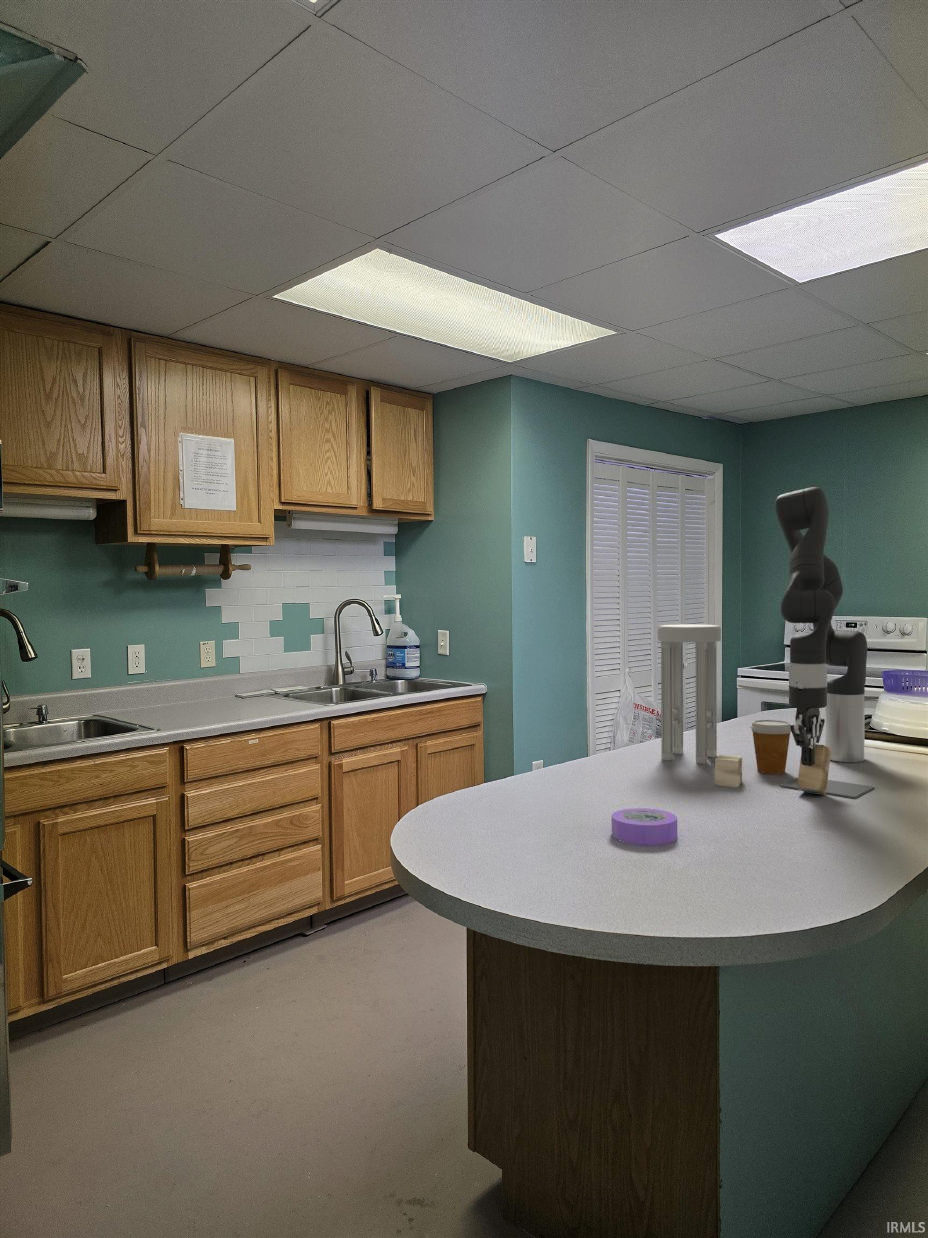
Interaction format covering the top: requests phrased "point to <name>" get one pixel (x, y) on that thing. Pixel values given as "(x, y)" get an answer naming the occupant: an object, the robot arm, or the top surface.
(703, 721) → the stool
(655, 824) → the masking tape
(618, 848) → the top surface
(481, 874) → the top surface
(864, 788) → the mat
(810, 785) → the oak block
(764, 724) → the disposable coffee cup
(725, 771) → the maple block
